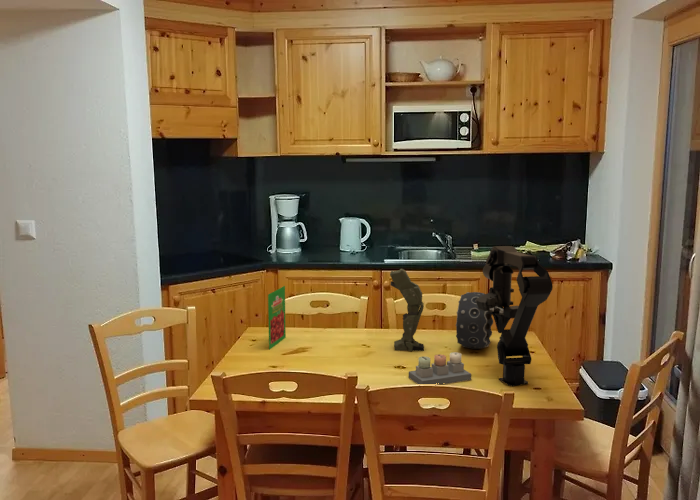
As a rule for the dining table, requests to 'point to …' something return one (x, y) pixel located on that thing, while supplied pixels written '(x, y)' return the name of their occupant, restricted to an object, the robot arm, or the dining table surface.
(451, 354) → the cream key
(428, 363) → the sage key
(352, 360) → the dining table surface
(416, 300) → the mechanical leg
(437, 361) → the terracotta key
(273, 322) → the tomato puree packet
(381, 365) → the dining table surface
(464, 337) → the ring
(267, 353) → the dining table surface
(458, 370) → the grey button panel
